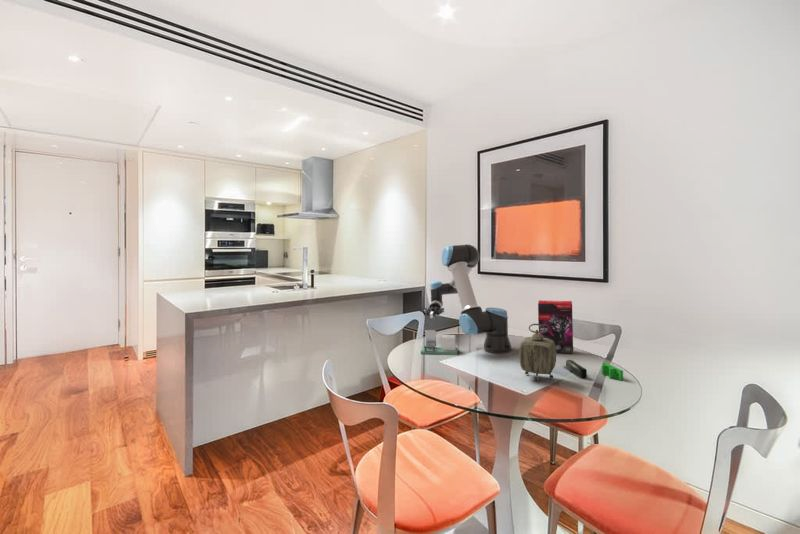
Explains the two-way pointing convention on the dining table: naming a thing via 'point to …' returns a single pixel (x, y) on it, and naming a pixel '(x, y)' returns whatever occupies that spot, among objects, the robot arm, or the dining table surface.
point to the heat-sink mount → (447, 348)
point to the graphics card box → (557, 323)
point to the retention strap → (430, 337)
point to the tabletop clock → (537, 354)
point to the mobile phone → (576, 369)
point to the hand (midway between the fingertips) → (431, 316)
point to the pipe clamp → (612, 371)
